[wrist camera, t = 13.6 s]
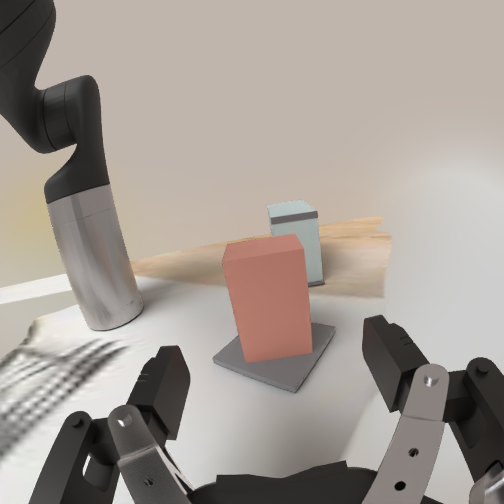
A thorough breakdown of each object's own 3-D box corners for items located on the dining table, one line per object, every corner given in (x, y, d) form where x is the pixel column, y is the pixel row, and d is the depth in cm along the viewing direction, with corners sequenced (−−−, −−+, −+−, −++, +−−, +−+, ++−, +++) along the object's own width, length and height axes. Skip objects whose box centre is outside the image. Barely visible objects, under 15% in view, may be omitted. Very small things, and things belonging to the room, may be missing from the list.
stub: (312, 352, 21) (304, 248, 18) (245, 362, 21) (222, 261, 18) (304, 326, 24) (294, 233, 22) (246, 335, 25) (227, 244, 22)
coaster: (214, 362, 22) (212, 357, 22) (263, 317, 28) (262, 312, 28) (294, 392, 18) (294, 387, 17) (334, 331, 23) (335, 326, 23)
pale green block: (325, 283, 33) (318, 212, 30) (281, 290, 33) (271, 219, 31) (308, 254, 43) (302, 199, 41) (274, 260, 44) (266, 205, 41)
